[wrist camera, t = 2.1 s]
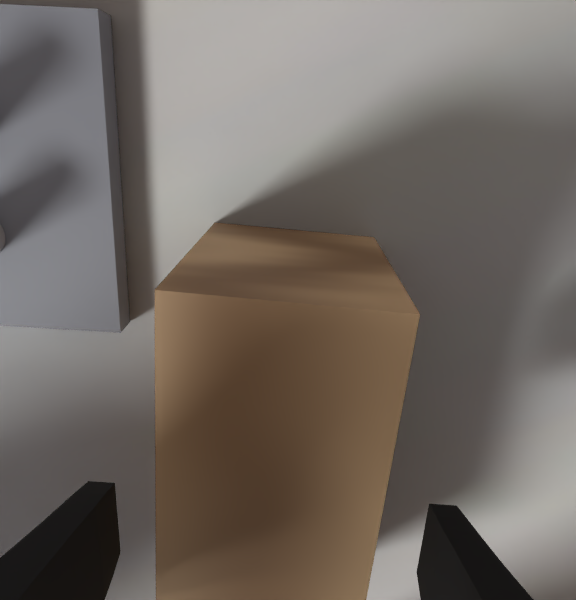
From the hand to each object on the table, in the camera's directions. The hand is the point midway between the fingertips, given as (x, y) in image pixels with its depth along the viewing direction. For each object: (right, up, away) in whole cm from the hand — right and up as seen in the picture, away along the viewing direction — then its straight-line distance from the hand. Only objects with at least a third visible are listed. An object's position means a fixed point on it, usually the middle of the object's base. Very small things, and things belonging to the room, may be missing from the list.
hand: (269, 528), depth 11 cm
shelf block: (0, +2, +4) cm, 5 cm away
